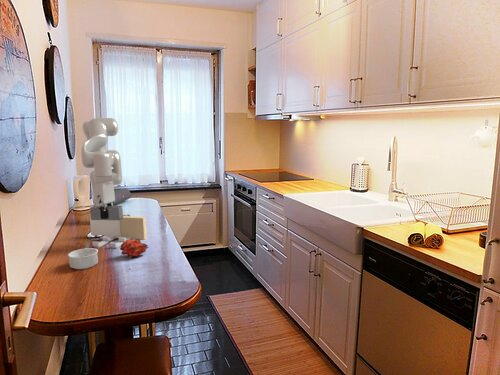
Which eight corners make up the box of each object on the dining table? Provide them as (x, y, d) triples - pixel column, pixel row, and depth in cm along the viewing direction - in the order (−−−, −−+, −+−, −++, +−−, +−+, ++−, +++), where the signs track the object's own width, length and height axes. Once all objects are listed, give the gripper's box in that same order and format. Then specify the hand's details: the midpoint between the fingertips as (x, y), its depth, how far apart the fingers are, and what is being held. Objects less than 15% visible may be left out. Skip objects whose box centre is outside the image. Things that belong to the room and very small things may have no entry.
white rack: (94, 235, 195) (92, 215, 193) (147, 237, 189) (145, 216, 187) (72, 246, 178) (69, 223, 176) (129, 249, 172) (127, 226, 170)
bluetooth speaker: (114, 207, 261) (113, 193, 259) (103, 207, 263) (101, 193, 261) (132, 201, 283) (131, 188, 281) (121, 200, 285) (120, 187, 283)
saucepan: (103, 252, 168) (102, 240, 167) (97, 269, 149) (96, 255, 148) (75, 255, 165) (74, 243, 164) (66, 272, 146) (64, 259, 145)
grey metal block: (95, 217, 179) (94, 205, 178) (123, 218, 178) (122, 205, 177) (91, 220, 175) (90, 207, 174) (119, 220, 174) (118, 207, 173)
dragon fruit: (118, 260, 162) (147, 261, 165) (117, 254, 155) (147, 256, 158) (121, 241, 166) (148, 243, 169) (120, 235, 159) (149, 236, 162)
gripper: (107, 176, 182) (110, 213, 185) (85, 182, 166) (89, 221, 169) (120, 176, 181) (123, 213, 184) (100, 182, 165) (104, 222, 168)
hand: (107, 217), depth 176 cm, fingers closed on grey metal block, 4 cm apart
